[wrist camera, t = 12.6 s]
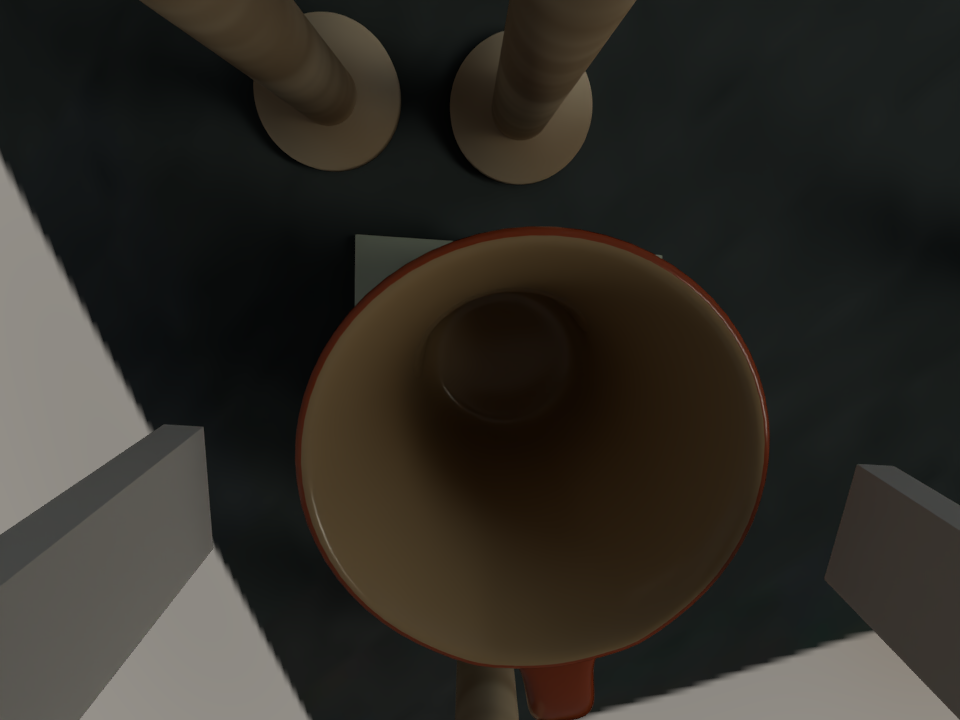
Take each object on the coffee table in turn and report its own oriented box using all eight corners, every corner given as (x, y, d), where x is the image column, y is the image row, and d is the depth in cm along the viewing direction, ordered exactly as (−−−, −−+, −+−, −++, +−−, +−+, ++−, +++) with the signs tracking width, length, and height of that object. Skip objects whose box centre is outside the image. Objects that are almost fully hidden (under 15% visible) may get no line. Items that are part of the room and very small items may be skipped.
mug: (362, 247, 18) (239, 266, 9) (607, 212, 18) (771, 190, 8) (418, 543, 21) (375, 816, 11) (630, 514, 21) (773, 764, 11)
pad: (359, 234, 19) (355, 234, 18) (656, 254, 19) (662, 255, 19) (355, 506, 22) (352, 514, 21) (618, 520, 22) (622, 527, 21)
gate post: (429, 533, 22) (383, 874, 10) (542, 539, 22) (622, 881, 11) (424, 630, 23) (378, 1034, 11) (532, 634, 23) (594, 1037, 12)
